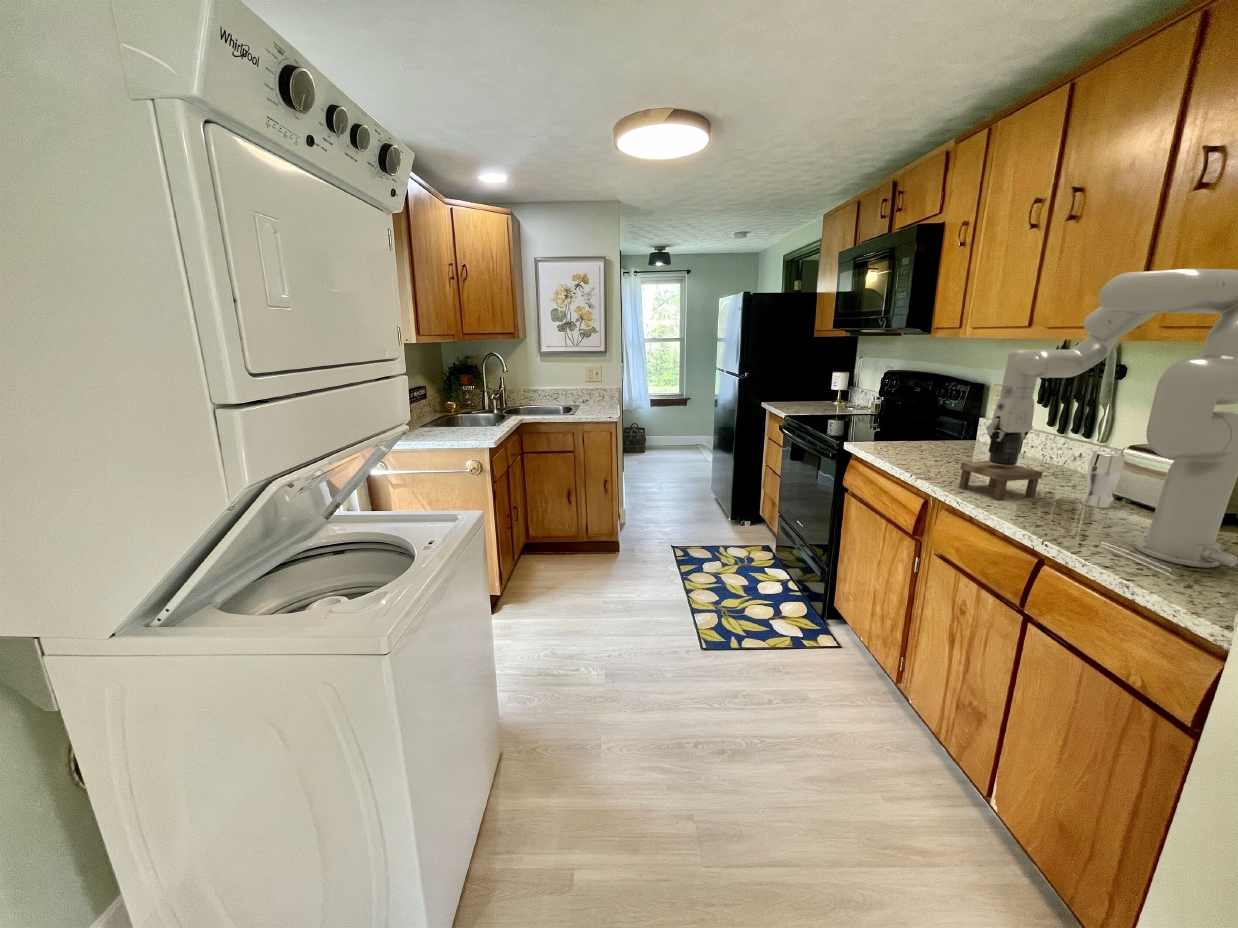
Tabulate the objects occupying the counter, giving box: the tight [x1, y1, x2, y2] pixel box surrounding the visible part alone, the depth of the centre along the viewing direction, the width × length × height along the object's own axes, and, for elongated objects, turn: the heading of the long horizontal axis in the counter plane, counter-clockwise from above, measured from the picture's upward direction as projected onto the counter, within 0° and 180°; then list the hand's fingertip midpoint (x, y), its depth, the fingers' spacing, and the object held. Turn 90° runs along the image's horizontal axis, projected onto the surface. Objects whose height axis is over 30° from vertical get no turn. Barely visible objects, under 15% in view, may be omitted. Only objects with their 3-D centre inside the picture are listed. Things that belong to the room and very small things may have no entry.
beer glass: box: [1080, 450, 1126, 509], centre depth 141 cm, size 7×7×15 cm
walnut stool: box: [958, 460, 1044, 502], centre depth 151 cm, size 14×14×8 cm
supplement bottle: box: [988, 429, 1022, 465], centre depth 148 cm, size 7×7×12 cm
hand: (1004, 452), depth 149 cm, fingers closed on supplement bottle, 6 cm apart
